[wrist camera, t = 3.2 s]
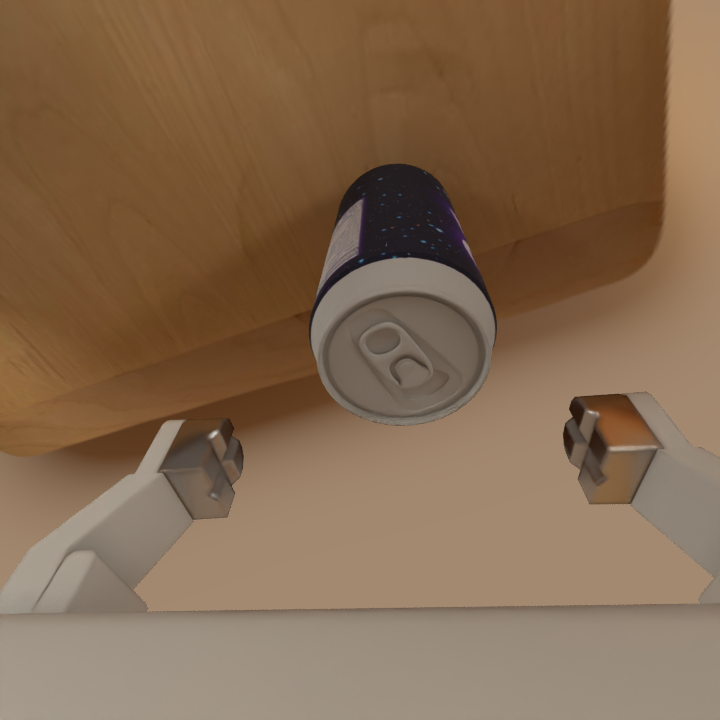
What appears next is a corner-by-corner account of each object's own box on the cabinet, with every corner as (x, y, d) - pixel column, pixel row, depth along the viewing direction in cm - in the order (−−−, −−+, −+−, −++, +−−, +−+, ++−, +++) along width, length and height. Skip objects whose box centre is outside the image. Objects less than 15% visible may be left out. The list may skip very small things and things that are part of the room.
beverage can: (382, 289, 24) (382, 457, 14) (315, 209, 21) (260, 349, 12) (471, 229, 21) (541, 383, 12) (408, 131, 19) (434, 227, 9)
